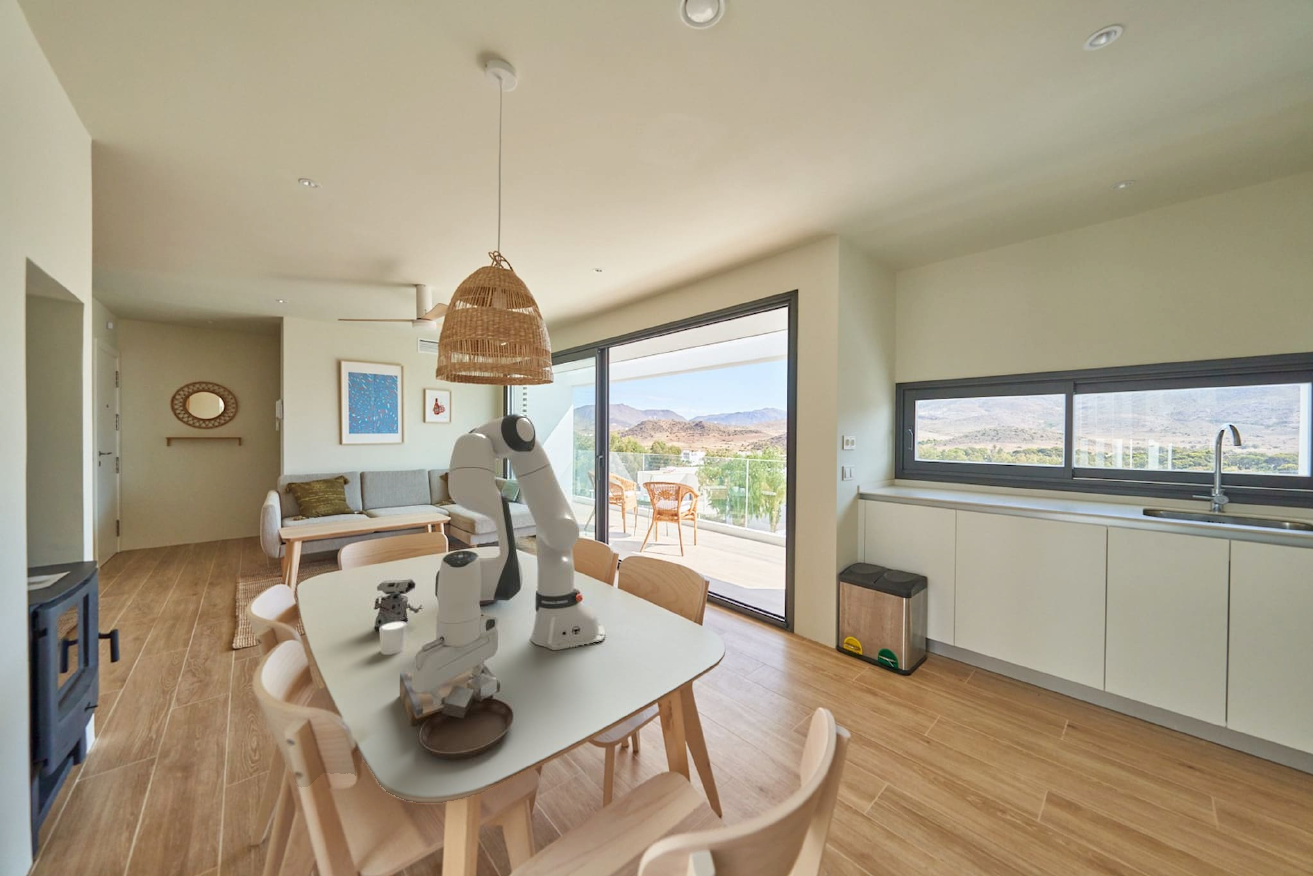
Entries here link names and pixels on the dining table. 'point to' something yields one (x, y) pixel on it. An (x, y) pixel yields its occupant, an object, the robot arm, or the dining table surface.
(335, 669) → the dining table surface
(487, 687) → the silver block
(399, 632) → the white cylinder
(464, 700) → the off-white small block
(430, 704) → the brown and grey tray
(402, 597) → the figurine
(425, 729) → the plant saucer
